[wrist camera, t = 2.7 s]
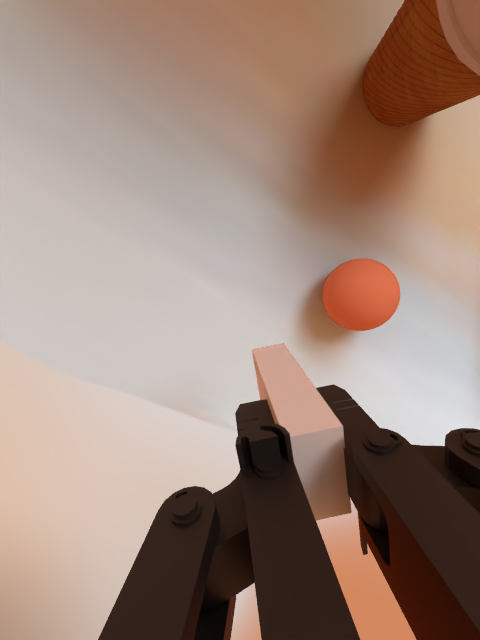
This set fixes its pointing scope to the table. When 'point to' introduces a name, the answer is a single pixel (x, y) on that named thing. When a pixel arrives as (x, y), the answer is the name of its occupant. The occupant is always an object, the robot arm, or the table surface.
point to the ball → (361, 294)
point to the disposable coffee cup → (425, 61)
